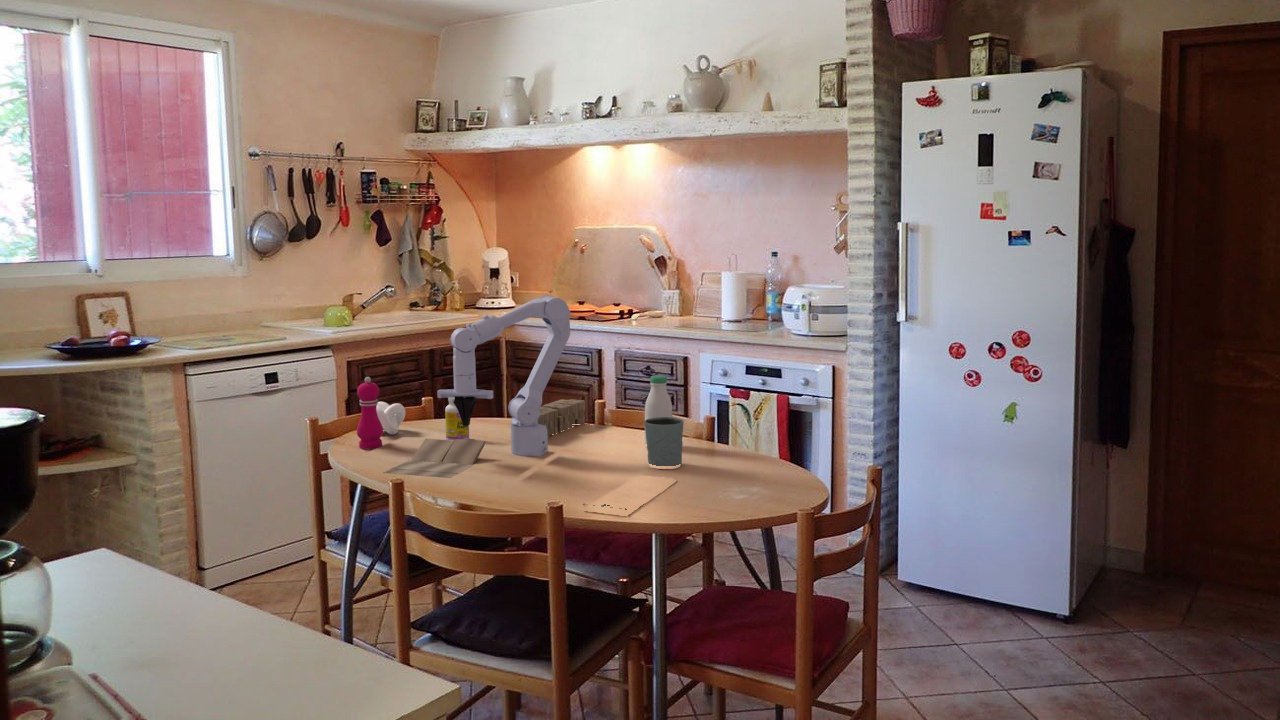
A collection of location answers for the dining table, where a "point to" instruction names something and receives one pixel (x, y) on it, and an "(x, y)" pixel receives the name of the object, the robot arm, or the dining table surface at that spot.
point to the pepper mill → (369, 416)
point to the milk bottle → (658, 399)
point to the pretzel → (390, 416)
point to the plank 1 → (433, 450)
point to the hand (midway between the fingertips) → (466, 425)
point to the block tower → (562, 415)
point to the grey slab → (428, 469)
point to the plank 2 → (464, 451)
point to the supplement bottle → (454, 423)
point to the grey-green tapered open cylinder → (664, 440)
